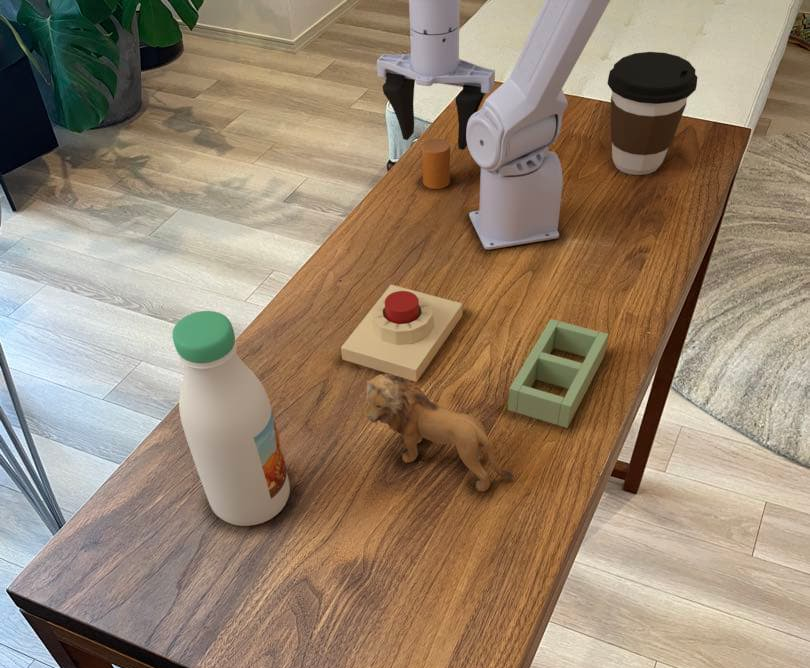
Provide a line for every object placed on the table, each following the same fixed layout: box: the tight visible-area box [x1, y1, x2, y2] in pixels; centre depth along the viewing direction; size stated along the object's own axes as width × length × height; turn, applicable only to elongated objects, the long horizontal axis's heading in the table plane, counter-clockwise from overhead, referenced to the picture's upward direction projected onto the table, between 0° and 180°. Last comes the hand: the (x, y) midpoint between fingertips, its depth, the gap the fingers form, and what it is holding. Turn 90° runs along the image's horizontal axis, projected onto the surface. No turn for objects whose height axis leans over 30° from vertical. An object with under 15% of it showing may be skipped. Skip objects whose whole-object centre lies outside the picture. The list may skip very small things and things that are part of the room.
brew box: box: [340, 284, 464, 383], centre depth 91 cm, size 12×9×4 cm
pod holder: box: [507, 318, 609, 429], centre depth 86 cm, size 6×12×3 cm, turn 154°
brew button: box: [385, 291, 419, 324], centre depth 89 cm, size 4×4×2 cm
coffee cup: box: [607, 51, 698, 176], centre depth 107 cm, size 11×11×12 cm
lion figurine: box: [363, 373, 515, 493], centre depth 77 cm, size 15×5×9 cm, turn 68°
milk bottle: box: [172, 310, 291, 527], centre depth 71 cm, size 8×8×20 cm
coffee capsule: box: [421, 138, 451, 190], centre depth 109 cm, size 4×4×5 cm
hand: (435, 140), depth 107 cm, fingers open, 7 cm apart
